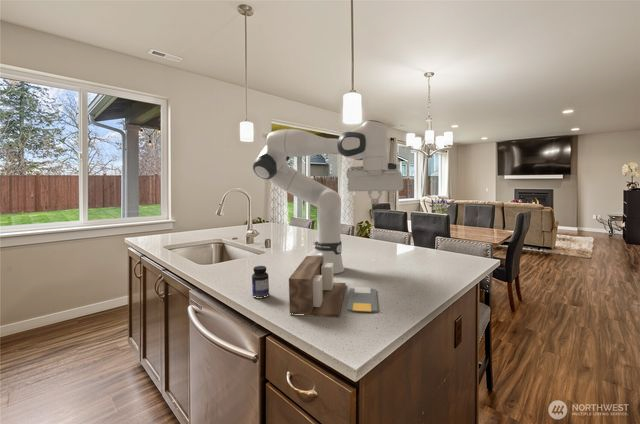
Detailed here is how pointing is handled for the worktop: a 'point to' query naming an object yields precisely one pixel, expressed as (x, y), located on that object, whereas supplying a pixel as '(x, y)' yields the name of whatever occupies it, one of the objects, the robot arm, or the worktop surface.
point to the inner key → (327, 276)
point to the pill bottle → (260, 282)
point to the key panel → (304, 291)
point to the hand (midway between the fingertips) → (374, 203)
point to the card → (362, 300)
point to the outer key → (317, 291)
